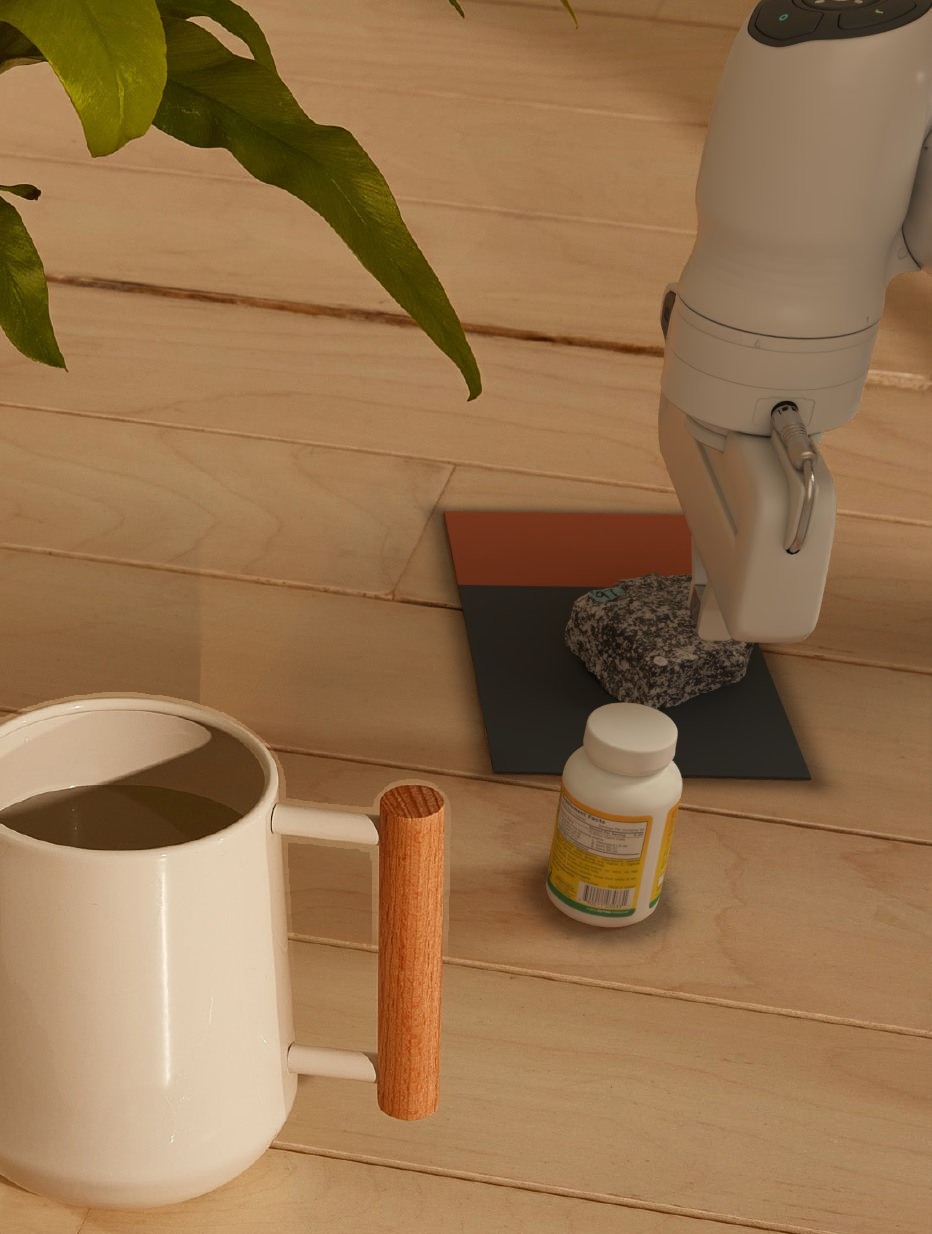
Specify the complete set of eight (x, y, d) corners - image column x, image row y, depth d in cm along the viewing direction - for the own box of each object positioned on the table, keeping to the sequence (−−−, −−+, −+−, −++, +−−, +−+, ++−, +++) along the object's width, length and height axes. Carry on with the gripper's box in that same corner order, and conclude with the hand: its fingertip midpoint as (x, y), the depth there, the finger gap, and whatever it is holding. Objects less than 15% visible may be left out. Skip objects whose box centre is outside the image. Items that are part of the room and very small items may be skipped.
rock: (788, 676, 117) (803, 608, 115) (634, 720, 114) (647, 652, 111) (700, 611, 123) (712, 545, 120) (550, 651, 119) (560, 585, 117)
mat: (707, 517, 132) (708, 515, 132) (811, 779, 110) (811, 777, 110) (444, 513, 133) (444, 511, 132) (493, 773, 110) (493, 771, 110)
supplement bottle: (593, 944, 99) (623, 772, 94) (520, 882, 103) (545, 713, 97) (683, 909, 101) (718, 738, 96) (609, 849, 105) (639, 682, 99)
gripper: (895, 467, 89) (823, 746, 97) (788, 275, 105) (734, 528, 114) (741, 463, 89) (681, 742, 97) (657, 272, 105) (613, 525, 114)
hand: (709, 625), depth 106 cm, fingers closed
